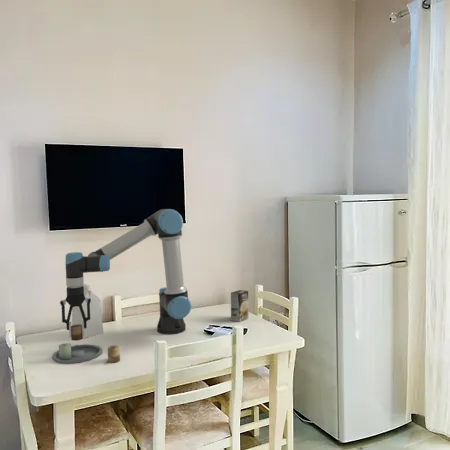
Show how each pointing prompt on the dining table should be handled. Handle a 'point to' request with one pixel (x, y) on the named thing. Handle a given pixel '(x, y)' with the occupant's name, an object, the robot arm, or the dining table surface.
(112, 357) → the bead
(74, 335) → the bead
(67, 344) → the bead
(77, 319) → the milk
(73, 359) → the tray
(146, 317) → the dining table surface
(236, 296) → the coffee box
